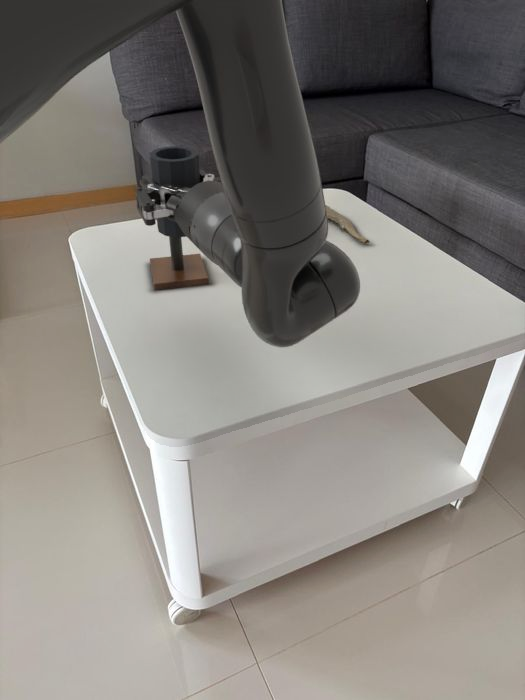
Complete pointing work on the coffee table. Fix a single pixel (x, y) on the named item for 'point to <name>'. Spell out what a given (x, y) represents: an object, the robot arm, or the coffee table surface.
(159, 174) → the sleeve
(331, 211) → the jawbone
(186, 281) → the stand
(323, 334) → the coffee table surface
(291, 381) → the coffee table surface
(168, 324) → the coffee table surface
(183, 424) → the coffee table surface
